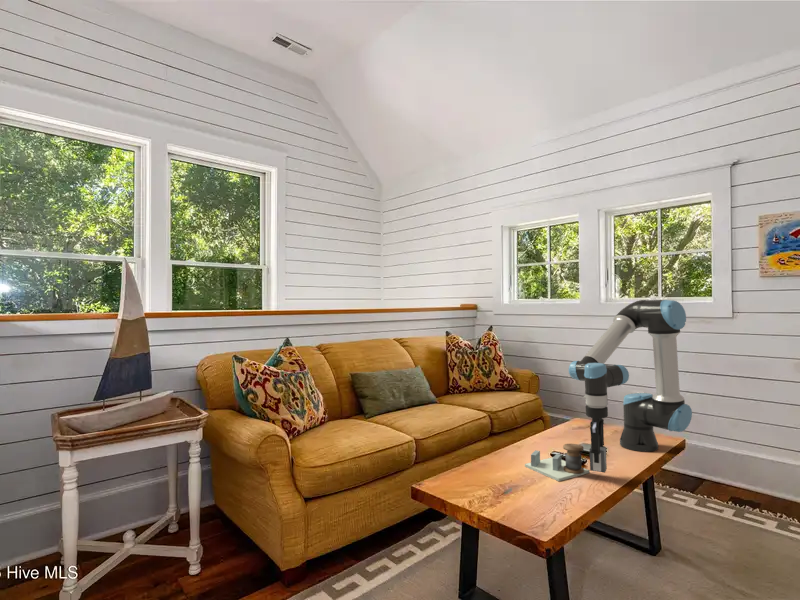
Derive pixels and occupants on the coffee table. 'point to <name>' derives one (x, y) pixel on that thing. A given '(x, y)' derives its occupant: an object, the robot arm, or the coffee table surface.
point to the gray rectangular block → (603, 459)
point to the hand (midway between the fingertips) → (598, 468)
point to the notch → (536, 460)
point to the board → (547, 470)
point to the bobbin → (573, 458)
